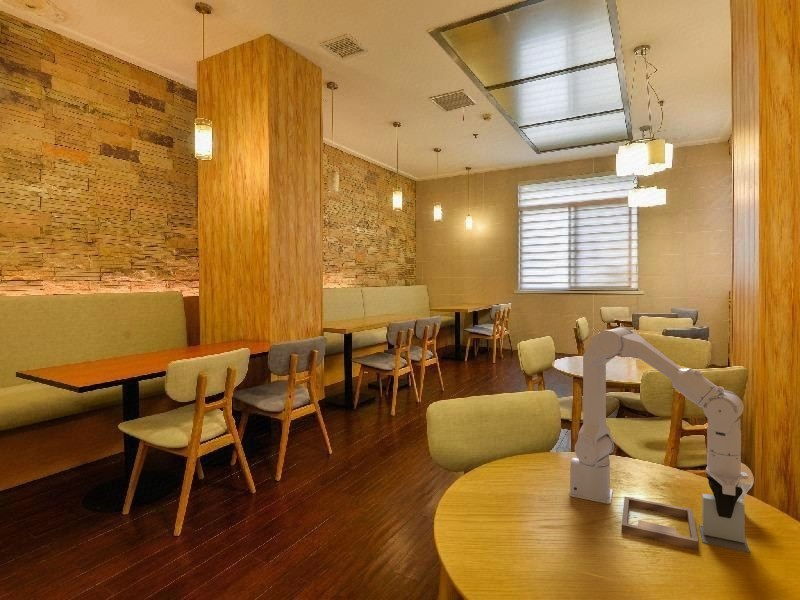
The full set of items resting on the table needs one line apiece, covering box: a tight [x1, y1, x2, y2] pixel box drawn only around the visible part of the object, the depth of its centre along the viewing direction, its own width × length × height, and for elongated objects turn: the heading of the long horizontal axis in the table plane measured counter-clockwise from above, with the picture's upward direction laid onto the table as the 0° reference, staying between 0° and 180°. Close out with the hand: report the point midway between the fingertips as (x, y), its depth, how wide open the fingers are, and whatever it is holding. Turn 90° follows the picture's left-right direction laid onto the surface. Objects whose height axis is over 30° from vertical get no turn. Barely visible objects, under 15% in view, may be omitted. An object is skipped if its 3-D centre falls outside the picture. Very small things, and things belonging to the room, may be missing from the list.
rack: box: [621, 496, 699, 551], centre depth 100 cm, size 14×14×2 cm
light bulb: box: [736, 462, 755, 503], centre depth 105 cm, size 7×7×12 cm
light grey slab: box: [701, 493, 746, 543], centre depth 94 cm, size 7×2×8 cm, turn 61°
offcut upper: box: [637, 519, 677, 534], centre depth 97 cm, size 7×3×1 cm, turn 60°
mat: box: [698, 525, 751, 554], centre depth 94 cm, size 8×7×1 cm
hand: (723, 513), depth 94 cm, fingers closed on light grey slab, 2 cm apart
